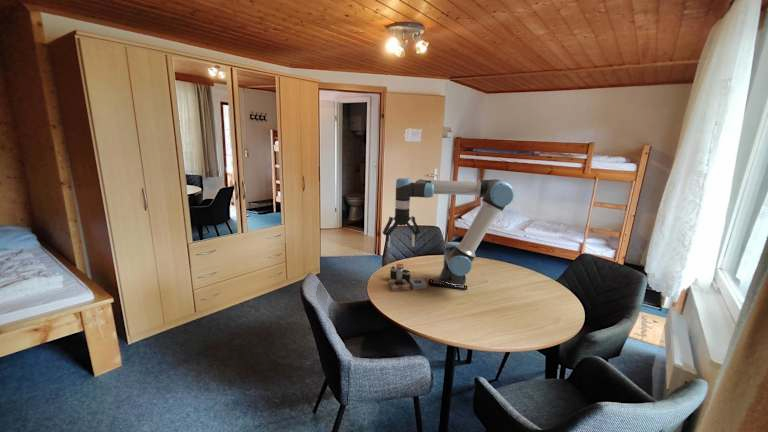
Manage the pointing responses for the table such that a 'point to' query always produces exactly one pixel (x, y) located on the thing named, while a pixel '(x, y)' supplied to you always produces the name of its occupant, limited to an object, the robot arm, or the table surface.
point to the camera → (404, 275)
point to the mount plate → (417, 284)
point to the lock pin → (399, 274)
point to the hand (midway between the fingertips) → (400, 246)
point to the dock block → (399, 286)
